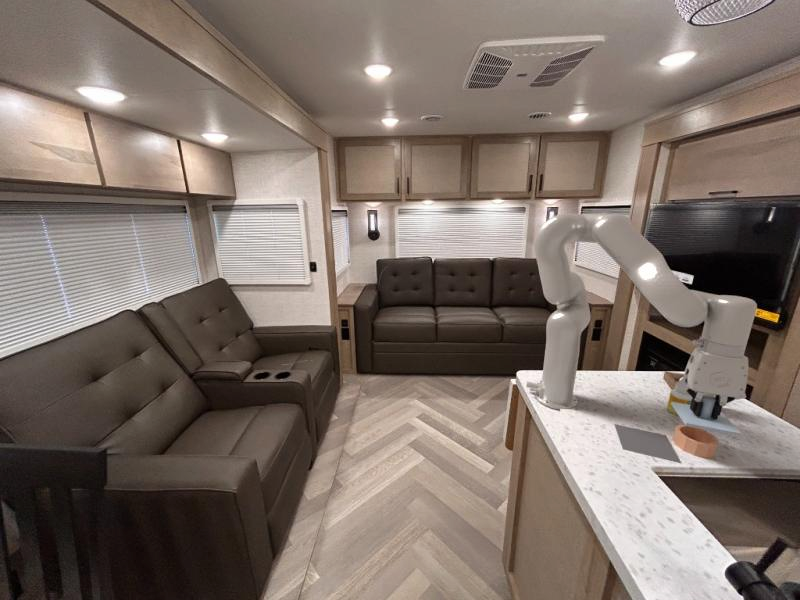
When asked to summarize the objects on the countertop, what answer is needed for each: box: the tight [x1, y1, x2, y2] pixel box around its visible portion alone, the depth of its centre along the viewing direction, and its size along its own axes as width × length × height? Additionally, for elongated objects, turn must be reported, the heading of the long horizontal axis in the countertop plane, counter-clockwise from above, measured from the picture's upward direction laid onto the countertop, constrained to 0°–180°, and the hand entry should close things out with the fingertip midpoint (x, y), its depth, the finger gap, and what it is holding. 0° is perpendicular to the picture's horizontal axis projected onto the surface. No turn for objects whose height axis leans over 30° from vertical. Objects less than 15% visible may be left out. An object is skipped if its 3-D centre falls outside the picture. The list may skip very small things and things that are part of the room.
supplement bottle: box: [666, 384, 692, 418], centre depth 94 cm, size 5×5×10 cm
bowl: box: [672, 423, 720, 459], centre depth 81 cm, size 8×8×4 cm
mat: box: [614, 423, 682, 464], centre depth 83 cm, size 12×11×1 cm
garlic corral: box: [662, 370, 684, 391], centre depth 109 cm, size 11×11×3 cm
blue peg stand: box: [671, 394, 742, 437], centre depth 78 cm, size 10×10×6 cm
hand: (703, 414), depth 79 cm, fingers closed on blue peg stand, 2 cm apart
